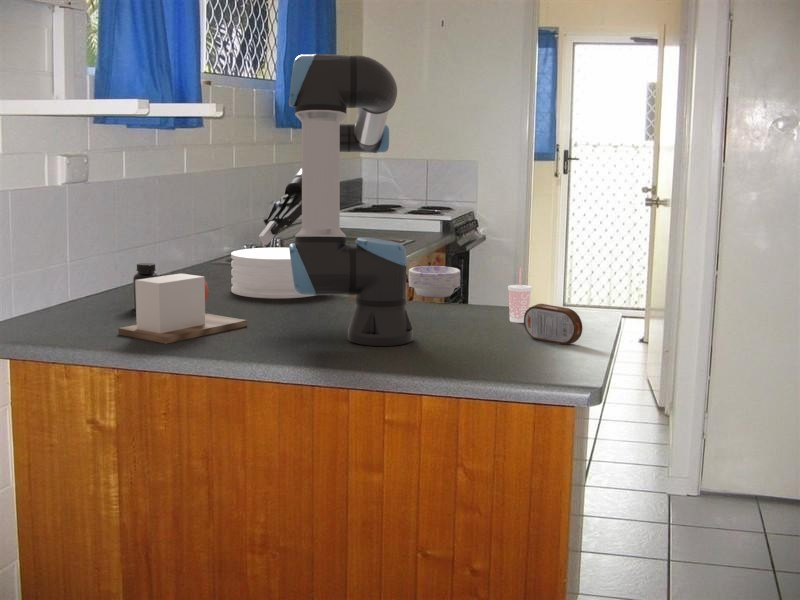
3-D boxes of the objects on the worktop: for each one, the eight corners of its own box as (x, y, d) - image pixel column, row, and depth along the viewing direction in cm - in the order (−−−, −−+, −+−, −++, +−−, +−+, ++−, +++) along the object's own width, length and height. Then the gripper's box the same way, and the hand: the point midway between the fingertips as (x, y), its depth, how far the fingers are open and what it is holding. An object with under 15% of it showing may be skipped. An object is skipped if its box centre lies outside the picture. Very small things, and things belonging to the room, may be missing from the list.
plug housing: (182, 320, 241) (181, 273, 239) (205, 324, 236) (204, 276, 234) (136, 329, 229) (135, 279, 227) (160, 333, 225) (159, 283, 223)
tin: (582, 345, 227) (584, 309, 225) (574, 347, 224) (576, 311, 223) (528, 335, 237) (530, 301, 235) (520, 337, 235) (522, 302, 233)
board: (200, 318, 251) (200, 312, 251) (246, 326, 242) (246, 320, 242) (118, 334, 230) (118, 328, 230) (165, 343, 221) (165, 337, 221)
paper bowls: (423, 301, 282) (424, 273, 281) (399, 293, 295) (399, 266, 294) (469, 298, 289) (470, 271, 287) (443, 290, 302) (444, 264, 301)
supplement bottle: (153, 311, 260) (151, 266, 258) (129, 310, 261) (127, 265, 259) (164, 307, 266) (163, 262, 264) (140, 305, 268) (139, 261, 266)
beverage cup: (510, 323, 251) (512, 268, 249) (504, 318, 257) (505, 265, 255) (533, 323, 252) (535, 268, 250) (526, 318, 258) (528, 265, 256)
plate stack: (333, 297, 287) (333, 258, 285) (235, 300, 280) (235, 259, 278) (317, 283, 314) (317, 247, 312) (228, 284, 307) (227, 248, 305)
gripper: (329, 196, 261) (290, 250, 245) (289, 201, 268) (248, 254, 252) (318, 173, 257) (277, 226, 241) (278, 178, 264) (236, 230, 248)
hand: (263, 240), depth 246 cm, fingers closed
